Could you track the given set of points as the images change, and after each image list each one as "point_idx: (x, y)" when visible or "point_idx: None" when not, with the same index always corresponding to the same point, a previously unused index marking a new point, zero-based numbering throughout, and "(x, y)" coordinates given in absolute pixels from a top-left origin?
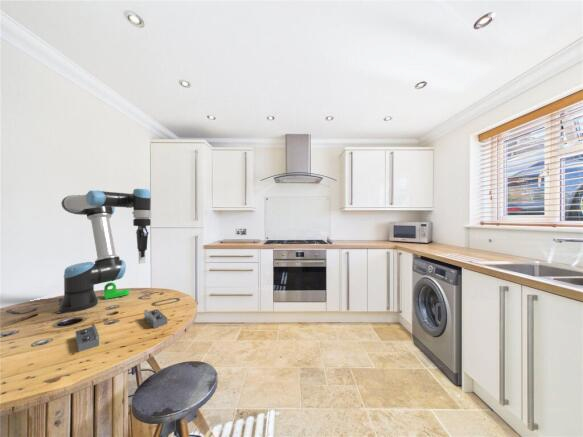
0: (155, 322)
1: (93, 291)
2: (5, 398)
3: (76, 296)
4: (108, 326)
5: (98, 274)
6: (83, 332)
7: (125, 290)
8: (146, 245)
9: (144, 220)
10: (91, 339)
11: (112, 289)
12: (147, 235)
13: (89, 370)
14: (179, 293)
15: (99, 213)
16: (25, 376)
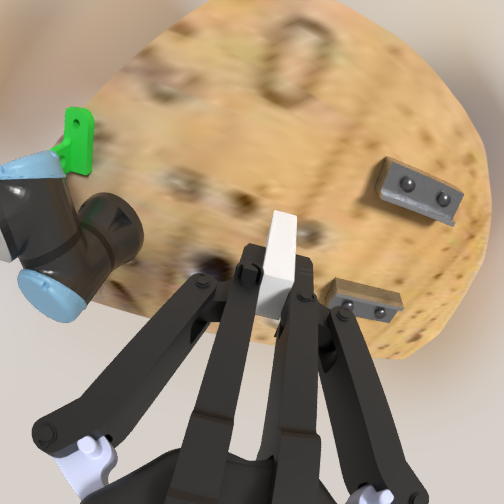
0: (450, 218)
1: (97, 223)
2: (398, 359)
3: (118, 261)
4: (328, 250)
5: (71, 247)
6: (352, 308)
7: (74, 119)
8: (365, 353)
9: None
10: (392, 309)
11: (64, 156)
12: (410, 472)
13: (440, 317)
14: None
15: None
16: (375, 348)
